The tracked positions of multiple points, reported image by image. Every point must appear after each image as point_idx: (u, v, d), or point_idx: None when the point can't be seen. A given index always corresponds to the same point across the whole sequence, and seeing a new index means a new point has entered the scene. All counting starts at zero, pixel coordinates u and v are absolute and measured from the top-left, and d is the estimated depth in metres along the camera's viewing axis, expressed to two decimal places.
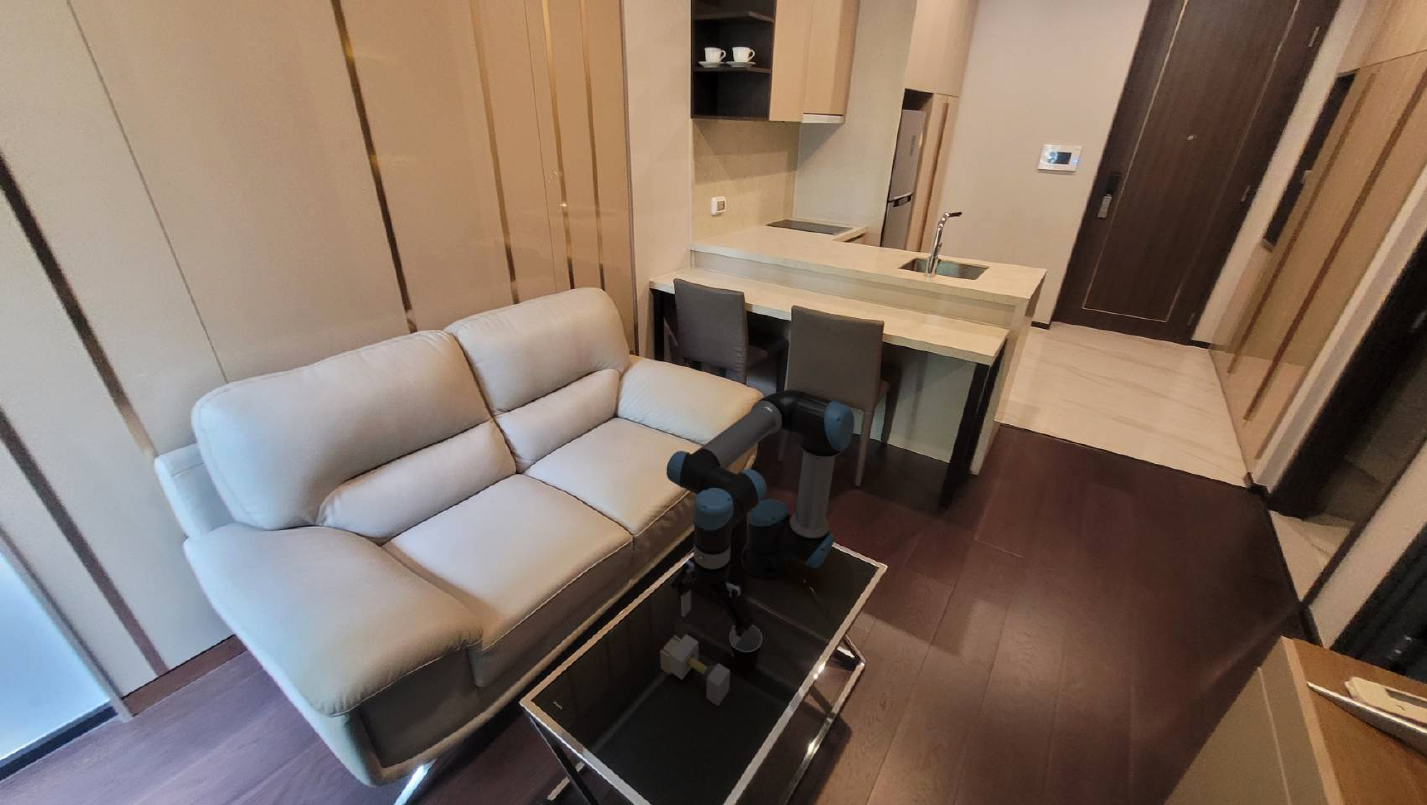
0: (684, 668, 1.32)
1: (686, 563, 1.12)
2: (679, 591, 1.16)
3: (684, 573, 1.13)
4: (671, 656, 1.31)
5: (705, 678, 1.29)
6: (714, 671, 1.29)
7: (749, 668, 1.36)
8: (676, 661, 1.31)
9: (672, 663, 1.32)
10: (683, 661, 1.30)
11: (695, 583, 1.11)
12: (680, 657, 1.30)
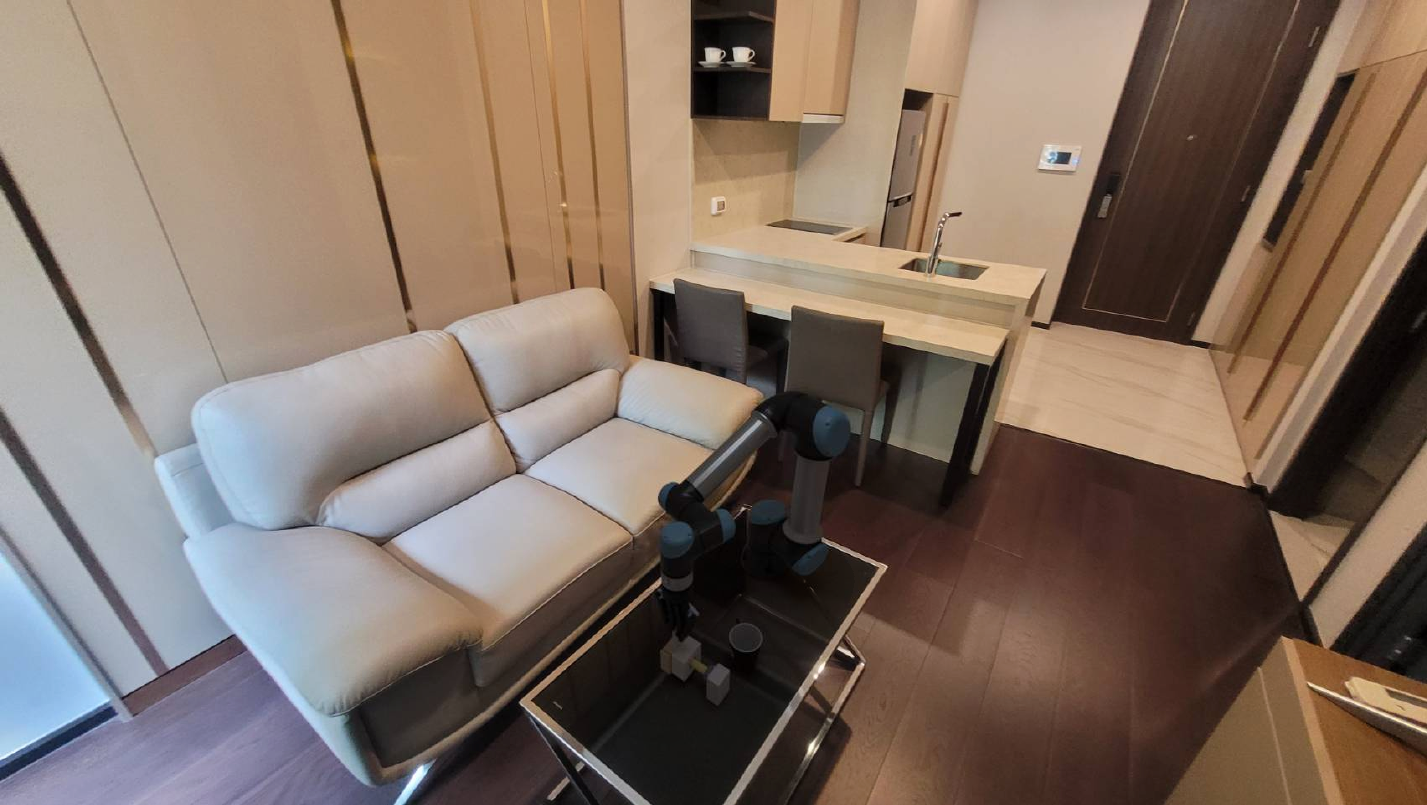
0: (687, 670, 1.32)
1: (657, 591, 1.29)
2: (670, 627, 1.31)
3: (660, 601, 1.29)
4: (673, 658, 1.31)
5: (705, 678, 1.29)
6: (714, 671, 1.29)
7: (749, 668, 1.36)
8: (679, 663, 1.30)
9: (675, 665, 1.32)
10: (686, 663, 1.30)
11: (667, 607, 1.27)
12: (683, 659, 1.30)
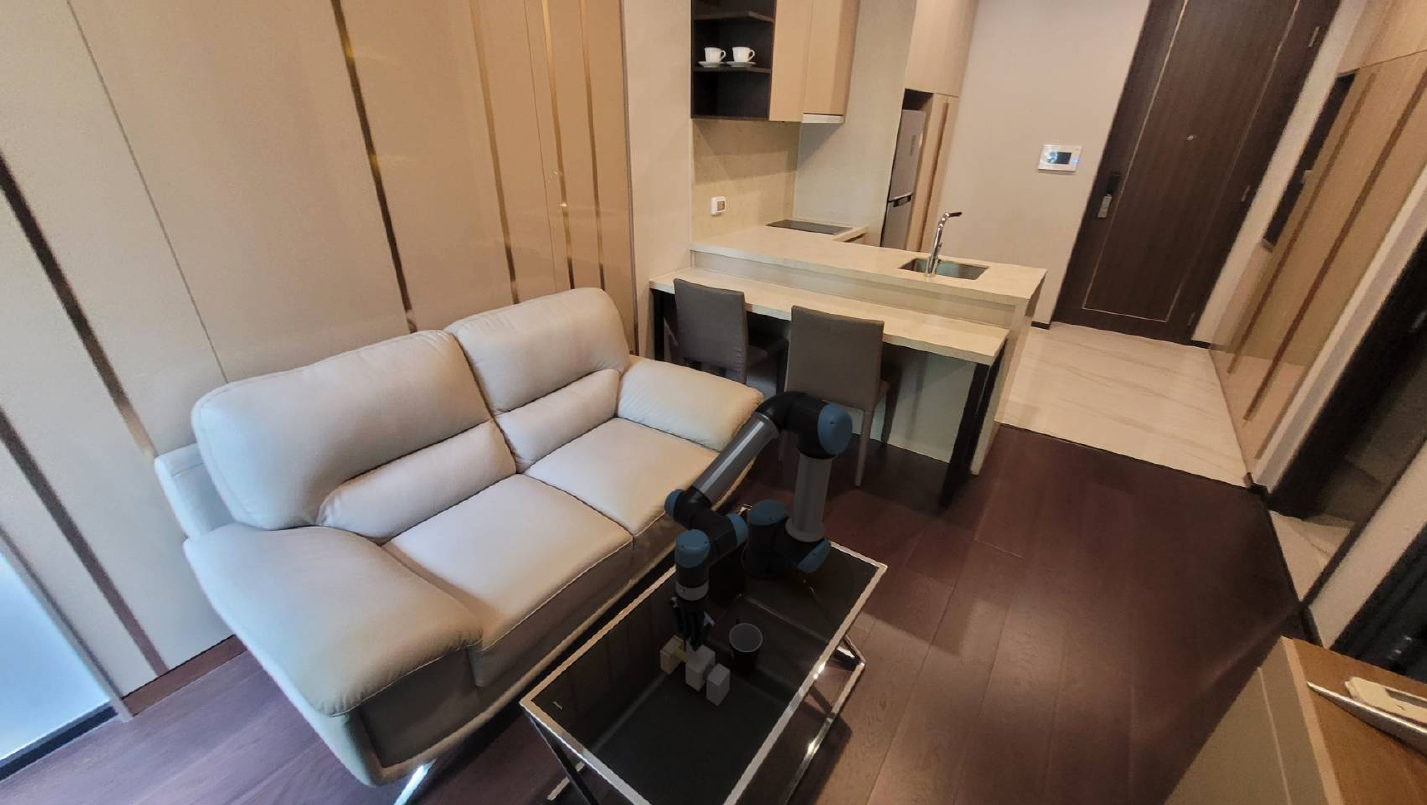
0: (701, 679, 1.29)
1: None
2: (684, 636, 1.28)
3: (674, 610, 1.27)
4: (688, 667, 1.29)
5: (705, 678, 1.29)
6: (714, 671, 1.29)
7: (749, 668, 1.36)
8: (693, 672, 1.28)
9: (689, 675, 1.30)
10: (700, 672, 1.28)
11: (682, 616, 1.25)
12: (697, 668, 1.28)
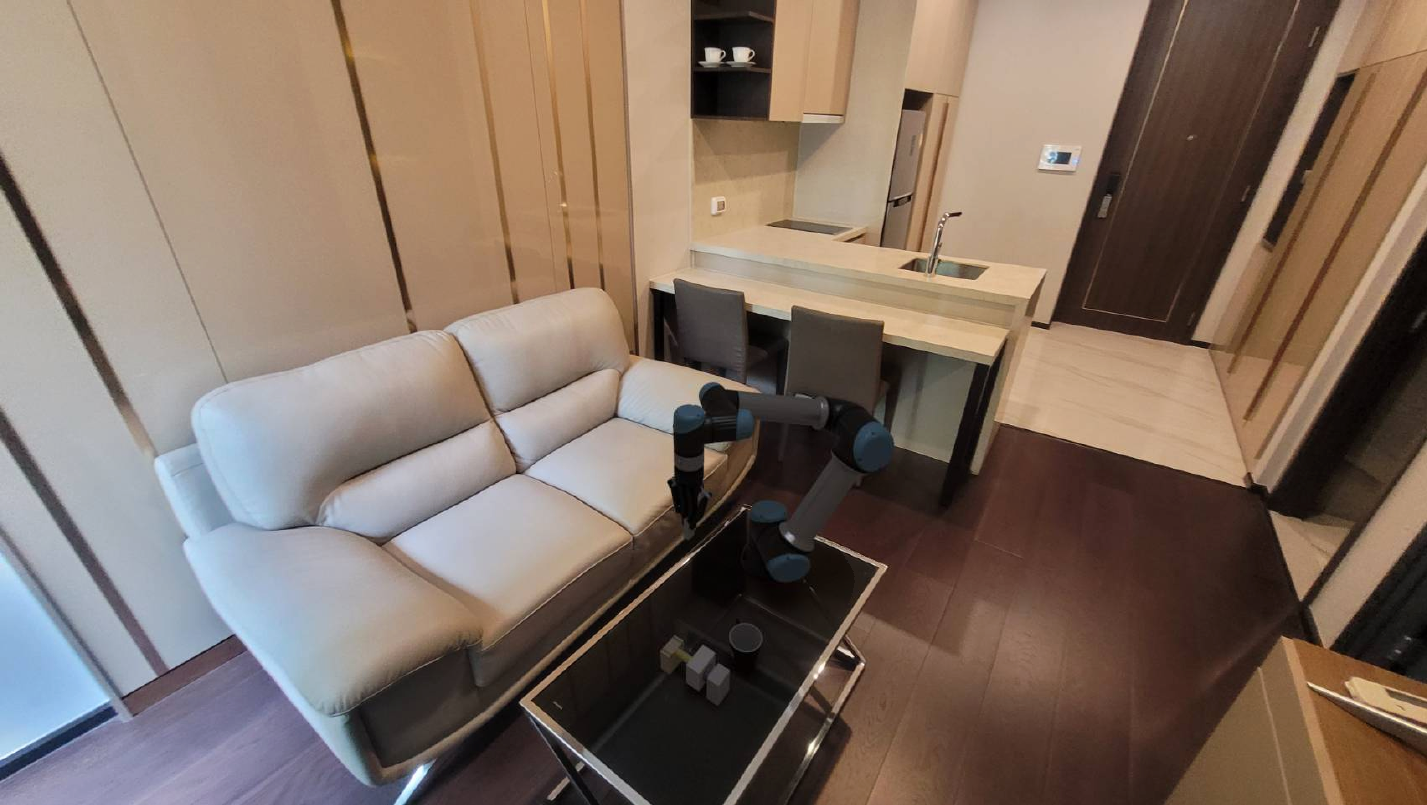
0: (701, 680, 1.29)
1: (669, 479, 1.35)
2: (681, 515, 1.37)
3: (672, 489, 1.35)
4: (688, 668, 1.29)
5: (705, 678, 1.29)
6: (714, 671, 1.29)
7: (749, 668, 1.36)
8: (693, 673, 1.28)
9: (689, 675, 1.30)
10: (700, 673, 1.28)
11: (680, 492, 1.33)
12: (697, 669, 1.28)
